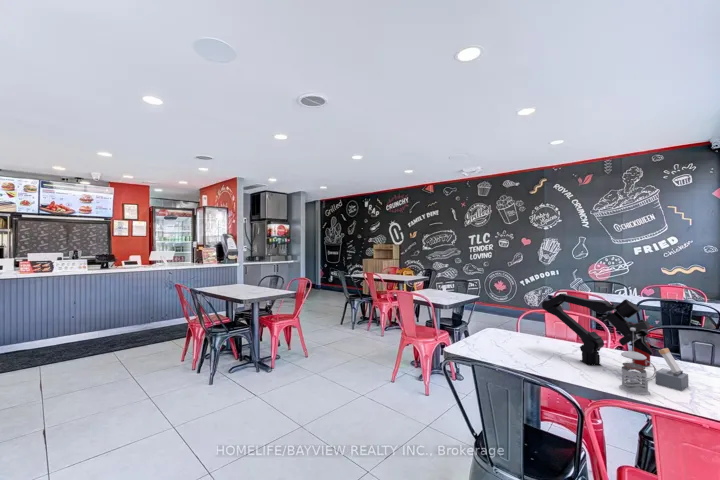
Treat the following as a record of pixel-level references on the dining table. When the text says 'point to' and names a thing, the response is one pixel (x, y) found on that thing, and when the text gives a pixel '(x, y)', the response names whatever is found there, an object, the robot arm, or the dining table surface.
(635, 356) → the french press
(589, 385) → the dining table surface
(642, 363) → the beverage can
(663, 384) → the switch box
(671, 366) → the lever
